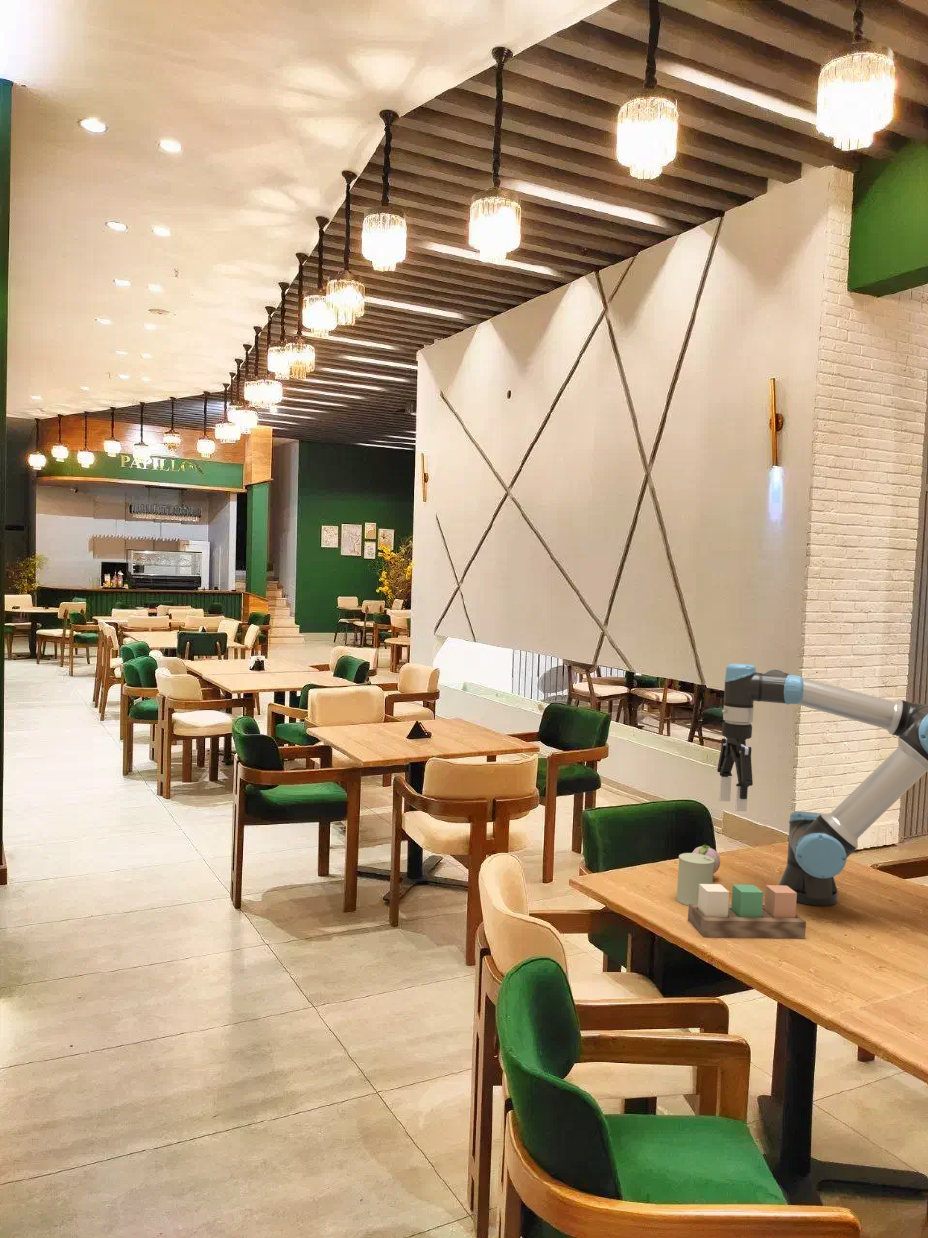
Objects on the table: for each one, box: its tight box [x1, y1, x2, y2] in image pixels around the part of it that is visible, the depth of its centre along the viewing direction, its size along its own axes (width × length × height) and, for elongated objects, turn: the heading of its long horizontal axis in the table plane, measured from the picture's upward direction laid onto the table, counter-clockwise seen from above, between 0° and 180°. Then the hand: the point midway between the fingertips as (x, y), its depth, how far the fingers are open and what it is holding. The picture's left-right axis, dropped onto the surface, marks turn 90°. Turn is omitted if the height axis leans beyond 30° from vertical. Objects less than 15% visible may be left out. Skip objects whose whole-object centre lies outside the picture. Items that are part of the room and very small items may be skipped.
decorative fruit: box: [691, 843, 721, 875], centre depth 254 cm, size 9×8×10 cm
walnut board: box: [687, 904, 807, 939], centre depth 216 cm, size 25×11×4 cm, turn 95°
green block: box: [730, 884, 764, 918], centre depth 215 cm, size 5×5×7 cm
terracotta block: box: [764, 884, 797, 918], centre depth 216 cm, size 5×5×7 cm
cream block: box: [698, 883, 730, 917], centre depth 215 cm, size 5×5×7 cm
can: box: [675, 852, 714, 907], centre depth 234 cm, size 9×9×12 cm
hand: (732, 805), depth 234 cm, fingers open, 10 cm apart
